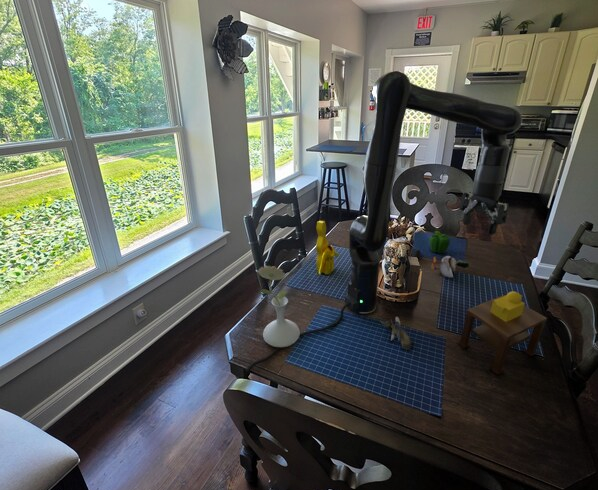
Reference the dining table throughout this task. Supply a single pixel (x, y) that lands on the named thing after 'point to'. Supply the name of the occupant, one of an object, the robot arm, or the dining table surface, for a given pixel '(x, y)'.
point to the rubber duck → (508, 306)
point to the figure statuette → (324, 251)
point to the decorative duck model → (449, 266)
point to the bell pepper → (439, 242)
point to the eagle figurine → (399, 333)
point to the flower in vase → (278, 314)
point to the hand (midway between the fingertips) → (477, 229)
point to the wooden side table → (503, 330)
